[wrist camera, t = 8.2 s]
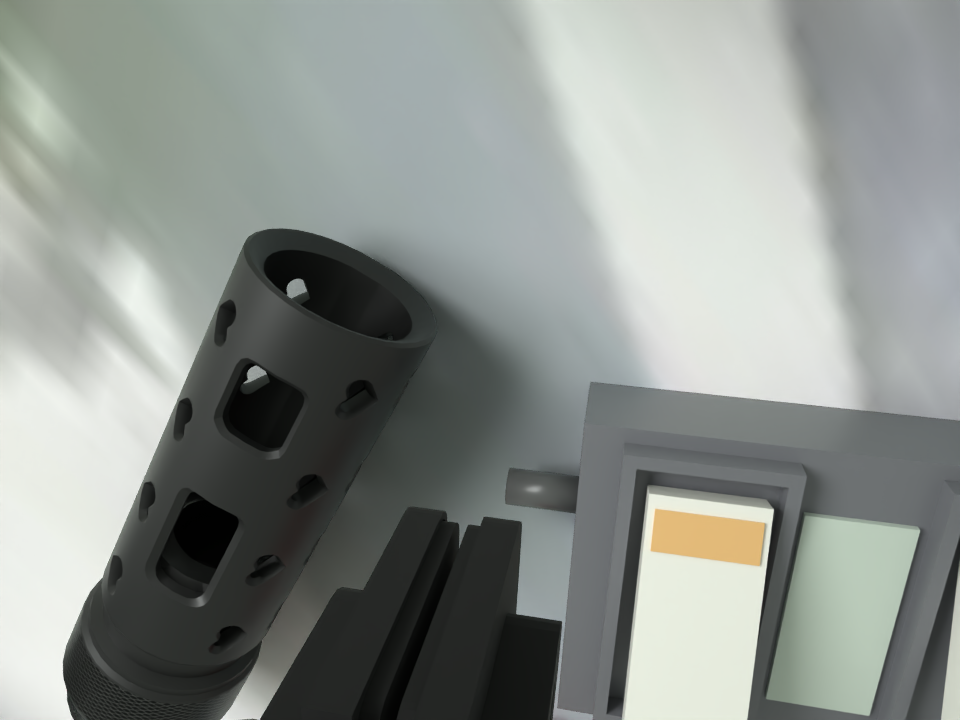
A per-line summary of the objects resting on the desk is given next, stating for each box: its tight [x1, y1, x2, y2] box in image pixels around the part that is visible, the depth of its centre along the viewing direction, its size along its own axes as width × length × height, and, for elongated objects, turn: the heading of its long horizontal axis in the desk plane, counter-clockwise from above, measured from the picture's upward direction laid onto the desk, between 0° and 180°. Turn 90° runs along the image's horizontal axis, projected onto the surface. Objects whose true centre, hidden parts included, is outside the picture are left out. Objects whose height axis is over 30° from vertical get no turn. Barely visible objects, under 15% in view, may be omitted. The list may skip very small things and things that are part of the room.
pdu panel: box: [505, 382, 960, 720], centre depth 37 cm, size 16×28×6 cm, turn 88°
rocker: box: [622, 485, 774, 720], centre depth 33 cm, size 12×5×2 cm, turn 178°
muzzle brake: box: [63, 229, 437, 720], centre depth 39 cm, size 10×28×10 cm, turn 151°
